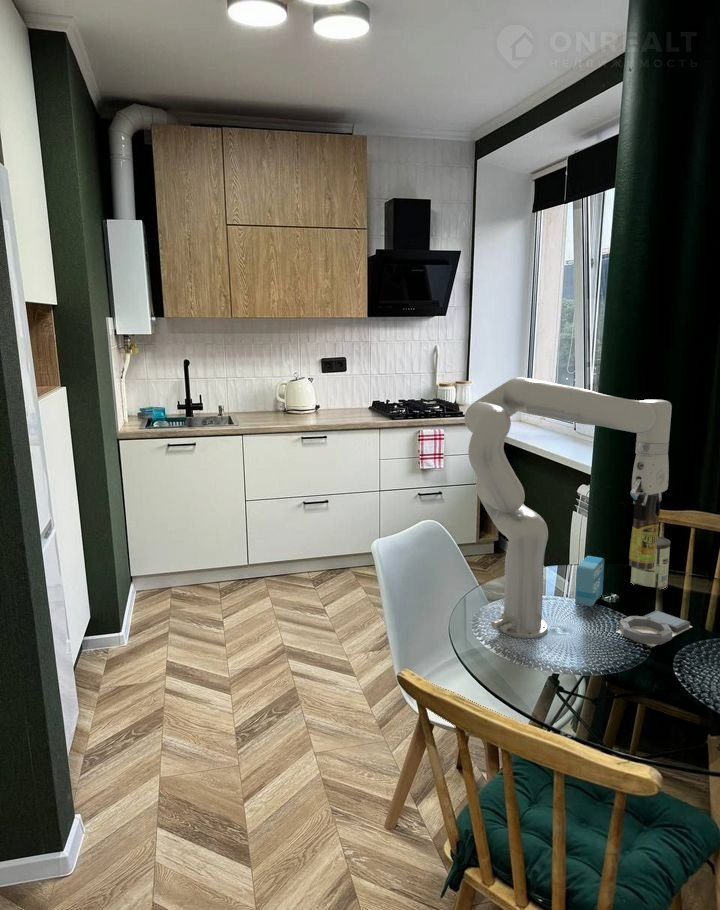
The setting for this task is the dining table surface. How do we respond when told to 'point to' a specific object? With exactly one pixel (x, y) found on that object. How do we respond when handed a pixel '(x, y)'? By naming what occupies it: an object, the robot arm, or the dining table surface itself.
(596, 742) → the dining table surface
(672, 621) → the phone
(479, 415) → the robot arm
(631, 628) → the grey shallow tray
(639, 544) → the sauce bottle
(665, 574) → the coffee can
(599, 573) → the data package
